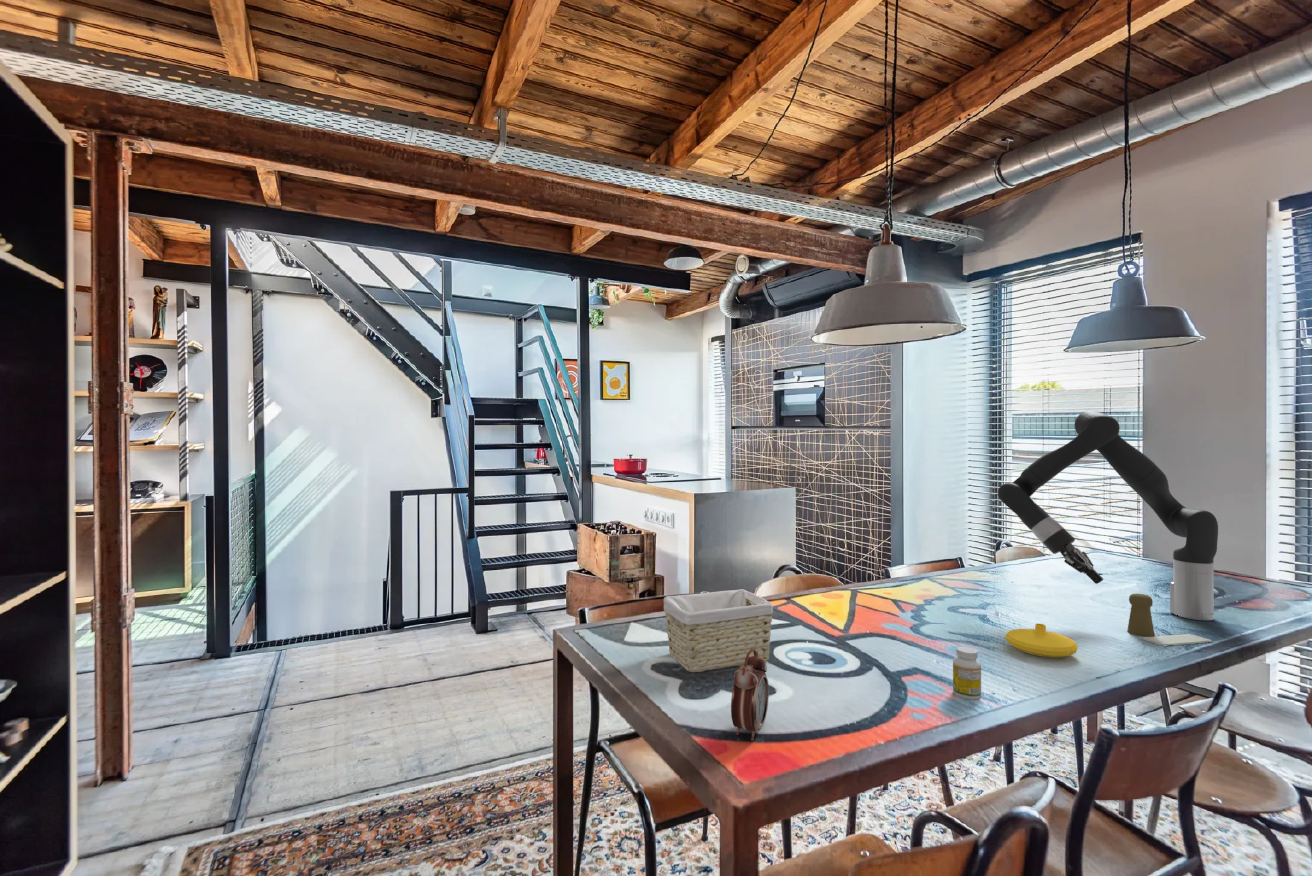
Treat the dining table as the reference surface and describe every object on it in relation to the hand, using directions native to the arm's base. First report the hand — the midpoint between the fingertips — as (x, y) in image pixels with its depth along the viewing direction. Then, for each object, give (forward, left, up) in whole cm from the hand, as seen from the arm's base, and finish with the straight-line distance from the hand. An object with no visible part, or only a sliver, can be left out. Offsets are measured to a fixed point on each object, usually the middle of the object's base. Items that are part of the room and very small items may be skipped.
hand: (1100, 581), depth 174 cm
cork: (+8, +4, -13) cm, 16 cm away
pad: (+15, +8, -13) cm, 21 cm away
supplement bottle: (+34, -73, -13) cm, 81 cm away
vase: (+15, -36, -13) cm, 41 cm away
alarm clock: (+40, -124, -13) cm, 131 cm away
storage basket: (+3, -118, -13) cm, 119 cm away
